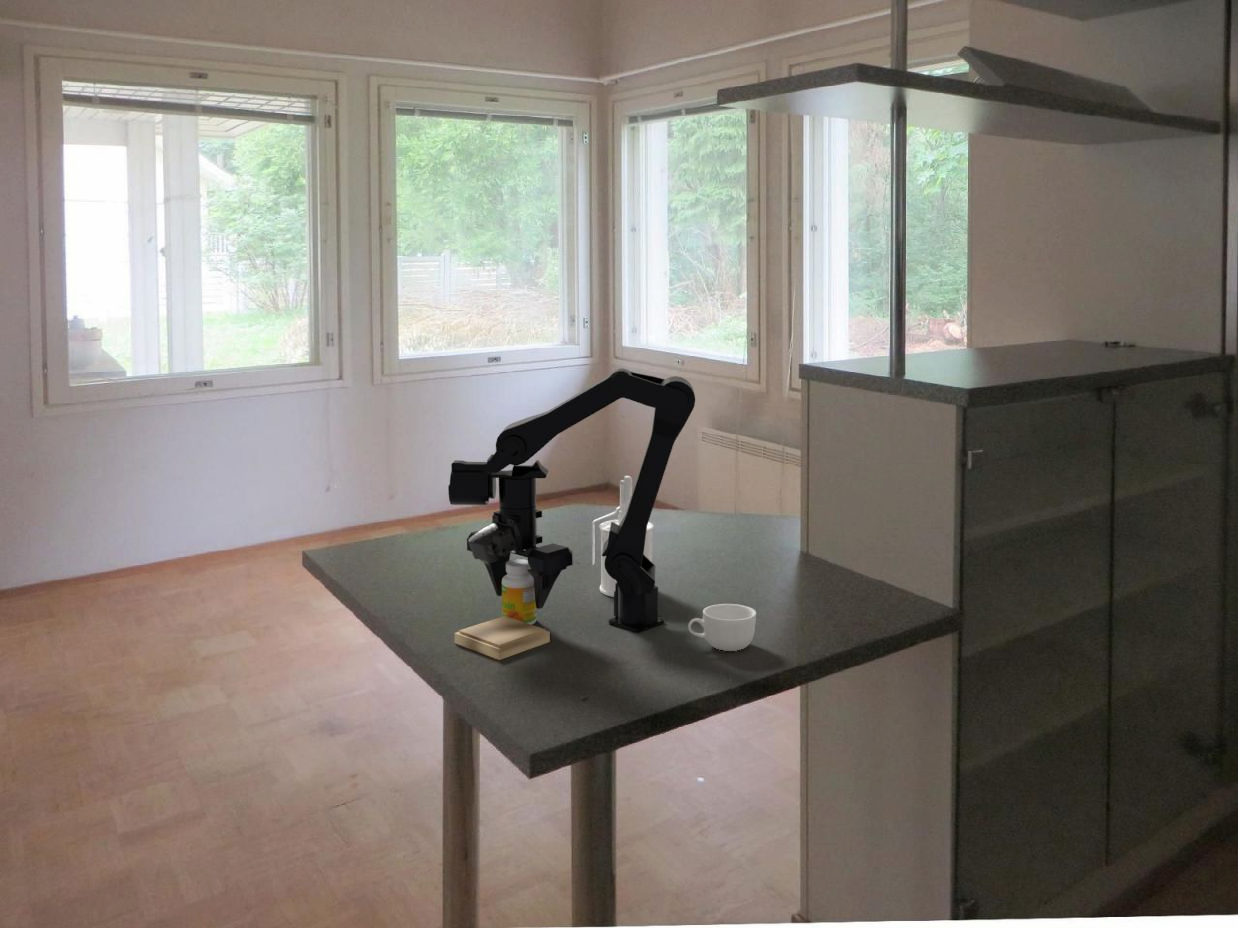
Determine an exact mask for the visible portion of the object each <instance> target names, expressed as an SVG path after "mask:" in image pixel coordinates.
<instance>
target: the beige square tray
mask: <svg viewBox="0 0 1238 928" xmlns="http://www.w3.org/2000/svg"><path fill="white" fill-rule="evenodd" d="M550 634H551V632H550V631H548V630H546V629H545V628H542V627H540V626H536V625H534V624H532V625H531V624H528V623H525V622H522V621H519V620H516V619H513V618H510V617H507V616H502V615H501V616H500V617H497V618H494V619H490V620H488V621H484V622H482V623H478V624H475V625H472V626H469V627H466V628H465V627H464V628H462V629H459V630H458V631H457V632H454V644H456V645H458V646H461V647H464V648H466V649H469V650H472V651H474V652H477V653H479V654H482V655H485V656H488V657H490V658H492V659H495V660H498V661H500V660H504V659H505V658H509V657H511V656H514V655H517V654H520V653H524V652H526V651H529V650H532V649H534V648H536V647H540V646H542V645H546V644H548V643H550V642H551V640H550V638H551V636H550Z"/></svg>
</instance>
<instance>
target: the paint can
mask: <svg viewBox="0 0 1238 928" xmlns="http://www.w3.org/2000/svg"><path fill="white" fill-rule="evenodd" d="M623 477H624V478H623V479H621V480H620V481H619V506H618V507H616V508H615V511H613V512H611V513H608V514H605V515H603V516H600V517H599V518H598V517H597V518H595V519H594V520H593V521H592V522H591V546H592V547H591V554H592V555H591V558H592V559H591V562H592V566H594V564H595V561H596V560H595V556H596V554H595V550H596V549H595V544H596V543H595V538H596V537H595V535H596V534H595V533H596V532H595V524H596V523H597V522H599V521H602V520H604V519H607V518H609V517H612V516H615V515H616V514H618V515H617V518H616V519H612V520H611V519H610V520H607V521H604V522H602V523H600V524H599V525H598V526H599V530H600V556H601V557H600V565H601V566H600V580H601V581H600V585H599V591H600V593H601V594H603V595H605V596H607V597H611V598H614V591H615V583H617V581H616V580H615V579H613V578H612V577H611V576H610V575H608V573H607V571H606V569H605V557H606V556H602V552H603V546H604V543H605V542H606V541H607V539H608V537H609V531H610V526H611V522H613V523H615V524H617V525H620V523H621V521H622V520H623V518H624V516H625V514H626V512H627V508H628V505H629V502H630V499H631V496H632V493H633V478H632V477H631V476H630V475H624V476H623ZM618 510H619V511H618ZM654 529H655V526H654V524H653V523H652V522H650V521H648V524H647V530H646V538H645V546H644V555H645V556H646V557H647V558H648V559H649V560H650V561H651V562H652V563H653V531H654Z"/></svg>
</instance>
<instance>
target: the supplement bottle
mask: <svg viewBox="0 0 1238 928" xmlns="http://www.w3.org/2000/svg"><path fill="white" fill-rule="evenodd" d="M528 569H531V567H530V566H529V564H528V559H523V558H518V559H516V558H515V559H510V560H509V561H508V562H506V572H507V575H505V576H504V577H503V578H502V596H501V605H502V606H501V608H502V609H501V611H502V613H501V617H502V616H507V617H510V618H513V619H516V620H519V621H522V622H525V623H528V624H531V625H534V624H535V623H536V622H537V619H538V618H537V615H538V614H537V610H538V609H537V608H536V603H535V592H534V578H533V577H532V576H531V574H530V573H529V572H528V571H527V570H528Z"/></svg>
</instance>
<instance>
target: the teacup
mask: <svg viewBox="0 0 1238 928" xmlns="http://www.w3.org/2000/svg"><path fill="white" fill-rule="evenodd" d="M756 618H757V611H756V610H755V609H754V608H752V607H750V606H746V605H743V604H735V603H719V604H713V605H709V606H706V607H705V608H703V610H702V618H698V617H695V618H692V619H691V620H689V622H688V625H687V629H688V632H689V633H690V634H691V635H693V636H695V637H697V638H702V639H705V640H706V642H707V643H709V646H711V647H712V648H714V649H715V648H716V649H715V650H717V649H719V650H718V651H720V650H724V651H723V652H725V651H735V652H738V651H737V650H740V651H742V650H743V649H745V648H747V647H748V646H749V645H750V643H752V640H754V639H753V638H754V635H755V629H756ZM696 622H697V623H698V624H699V625H700V626H701V627H702V629H703V632H702V633H701V632H695V631H694V630H692V624H693V623H696ZM741 649H742V650H741Z"/></svg>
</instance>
